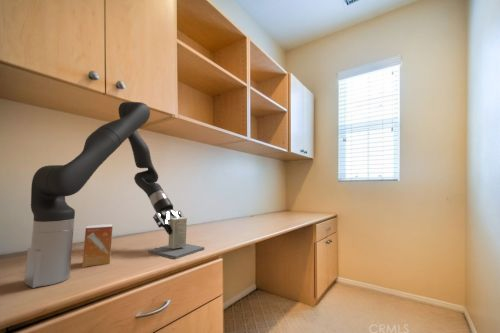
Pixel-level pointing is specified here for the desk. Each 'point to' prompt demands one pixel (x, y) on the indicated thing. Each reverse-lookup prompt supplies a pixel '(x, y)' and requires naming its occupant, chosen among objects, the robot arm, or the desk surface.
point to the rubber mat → (176, 251)
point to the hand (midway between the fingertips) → (177, 231)
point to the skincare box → (177, 232)
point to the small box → (97, 245)
